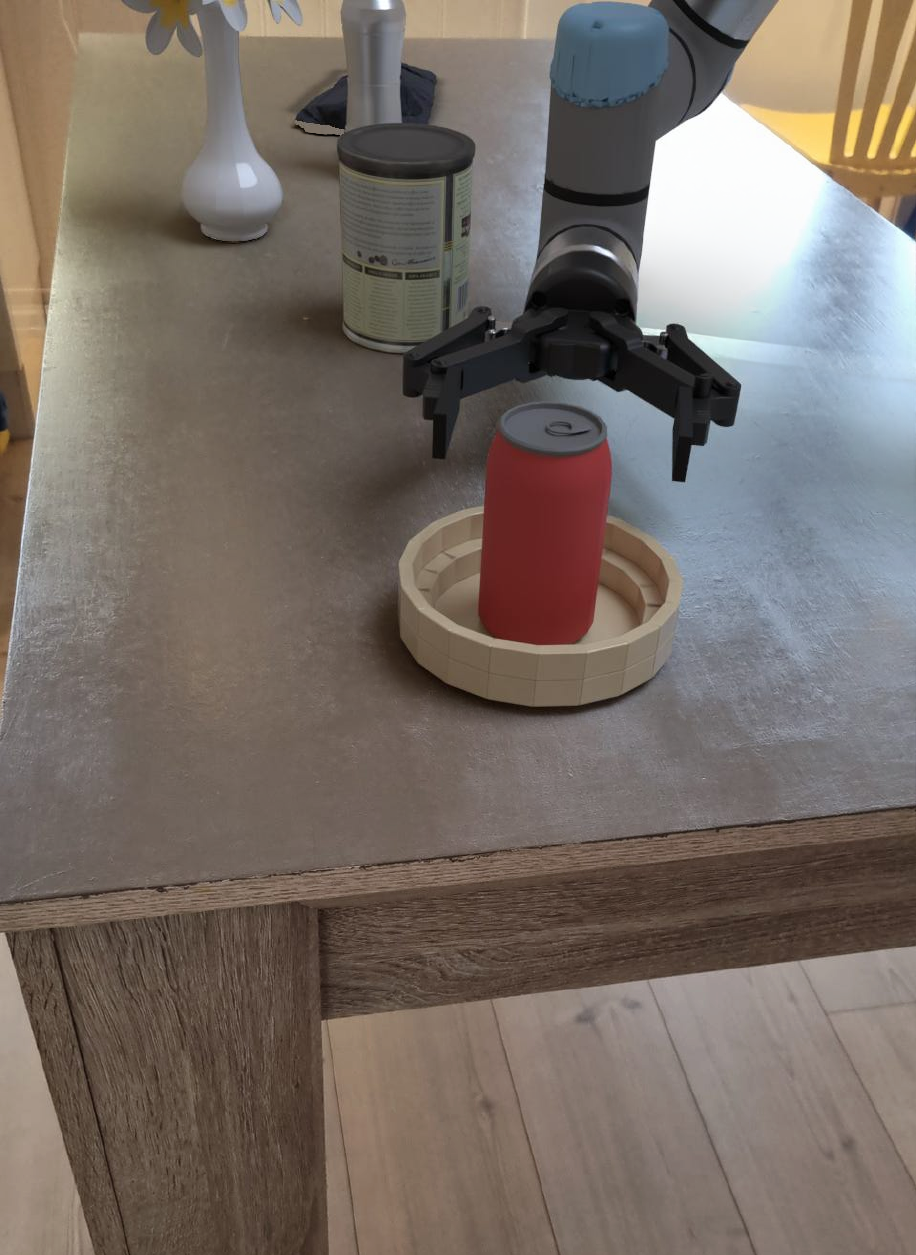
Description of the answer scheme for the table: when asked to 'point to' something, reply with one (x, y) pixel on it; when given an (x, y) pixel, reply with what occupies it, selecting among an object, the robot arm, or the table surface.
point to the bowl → (525, 673)
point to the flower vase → (220, 117)
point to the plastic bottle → (373, 60)
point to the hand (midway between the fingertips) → (559, 448)
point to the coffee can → (404, 232)
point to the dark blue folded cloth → (413, 98)
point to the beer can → (544, 523)
